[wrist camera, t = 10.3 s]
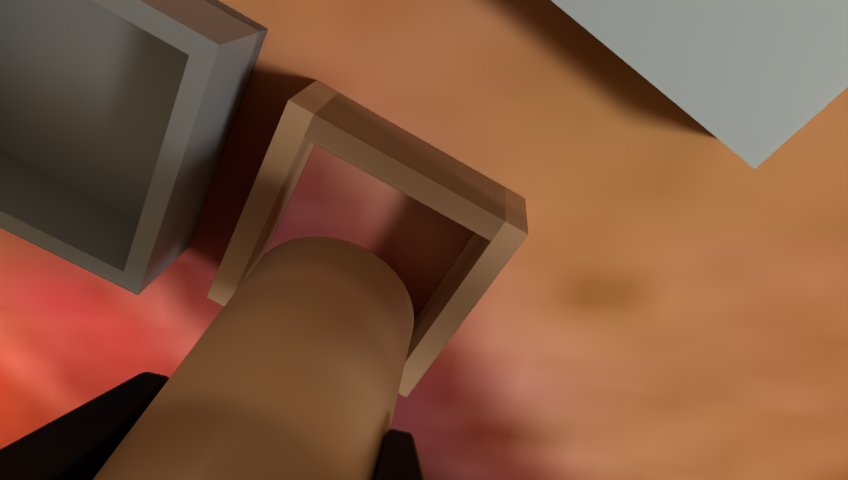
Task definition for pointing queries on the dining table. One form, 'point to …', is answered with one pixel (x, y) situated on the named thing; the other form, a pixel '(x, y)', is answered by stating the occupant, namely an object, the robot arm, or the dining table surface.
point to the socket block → (405, 171)
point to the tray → (116, 125)
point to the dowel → (283, 376)
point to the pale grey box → (731, 60)
